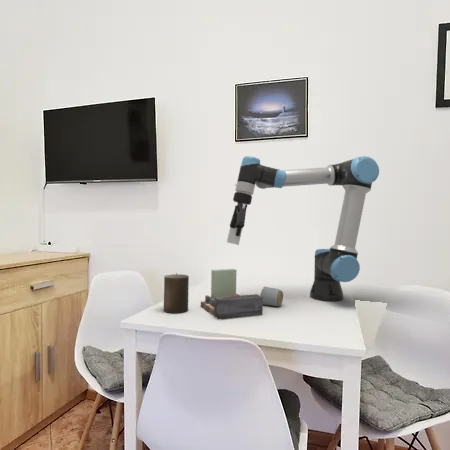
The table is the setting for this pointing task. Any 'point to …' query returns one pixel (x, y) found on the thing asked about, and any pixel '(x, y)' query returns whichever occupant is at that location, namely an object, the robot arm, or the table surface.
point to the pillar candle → (176, 293)
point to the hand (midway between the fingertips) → (232, 243)
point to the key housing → (234, 306)
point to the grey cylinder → (272, 296)
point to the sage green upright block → (223, 283)
